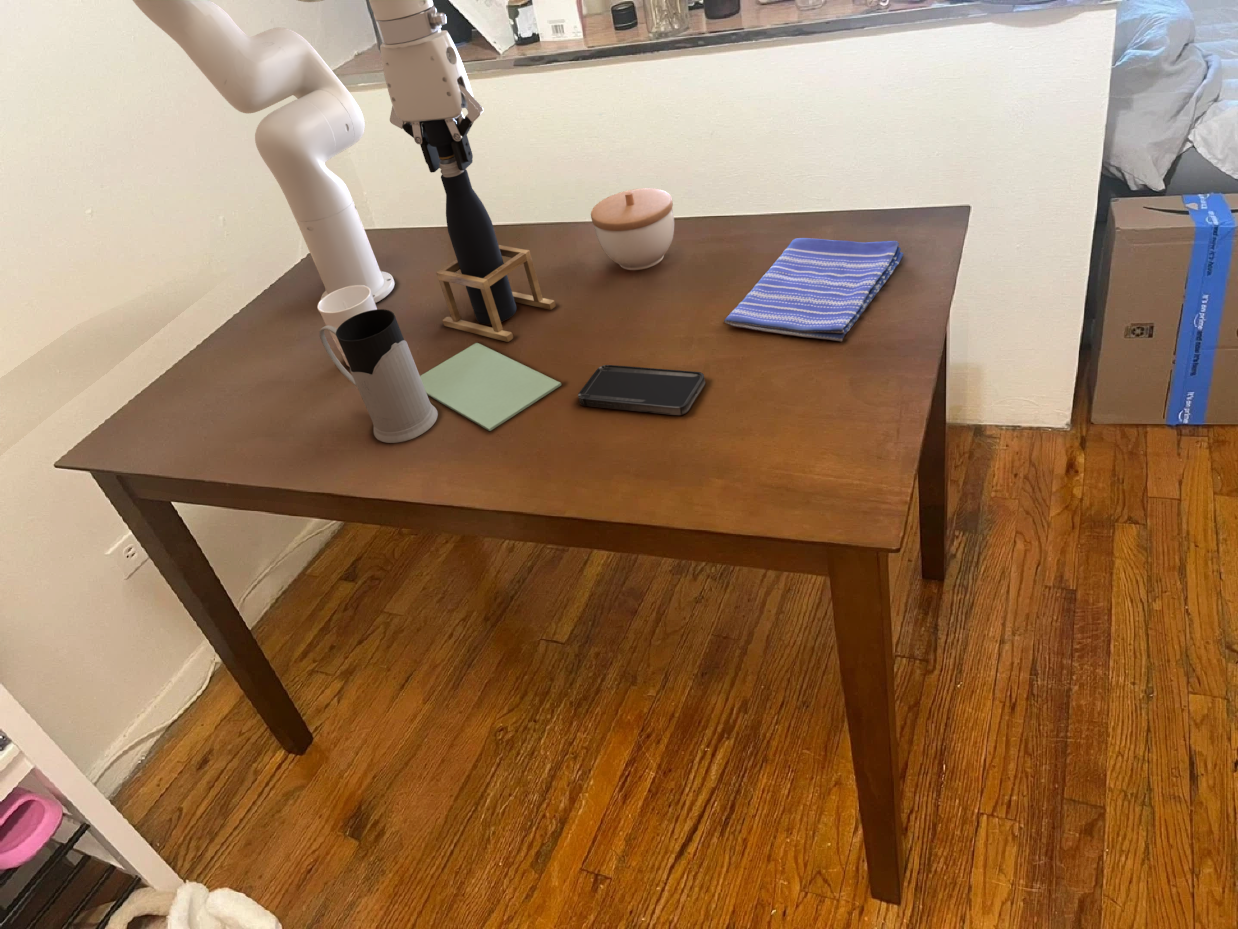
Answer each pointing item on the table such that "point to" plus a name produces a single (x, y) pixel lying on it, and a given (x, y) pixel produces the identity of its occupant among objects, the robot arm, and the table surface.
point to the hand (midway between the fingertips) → (451, 166)
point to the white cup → (345, 307)
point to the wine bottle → (470, 228)
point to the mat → (486, 385)
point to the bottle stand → (484, 284)
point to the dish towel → (817, 288)
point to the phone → (642, 389)
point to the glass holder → (383, 375)
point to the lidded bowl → (635, 227)
